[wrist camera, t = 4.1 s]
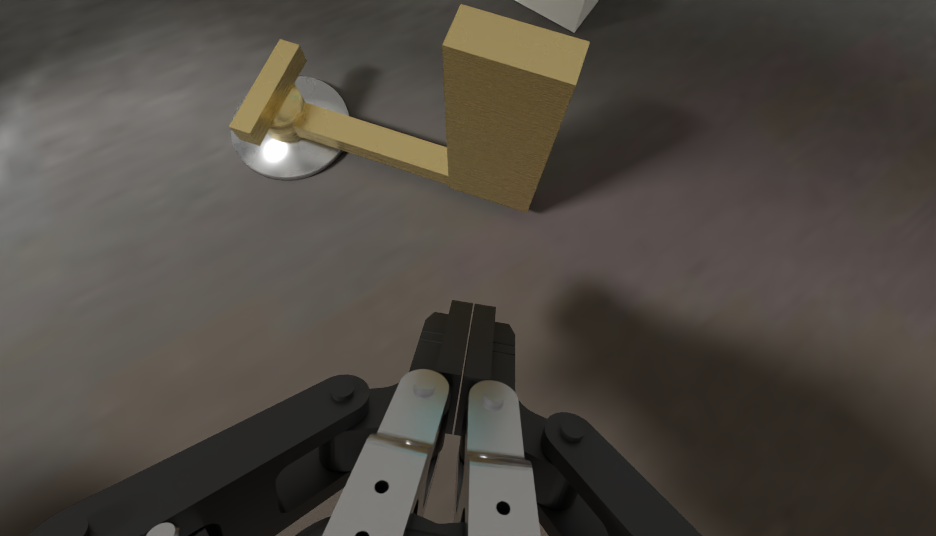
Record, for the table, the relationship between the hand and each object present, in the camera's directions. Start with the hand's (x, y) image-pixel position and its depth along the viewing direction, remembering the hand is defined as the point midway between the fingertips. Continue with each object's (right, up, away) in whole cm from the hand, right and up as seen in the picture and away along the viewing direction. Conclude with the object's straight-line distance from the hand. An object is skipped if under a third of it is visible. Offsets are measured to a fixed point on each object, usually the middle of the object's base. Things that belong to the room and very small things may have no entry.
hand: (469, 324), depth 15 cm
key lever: (-4, +8, +7) cm, 11 cm away
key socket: (-9, +9, +8) cm, 15 cm away
